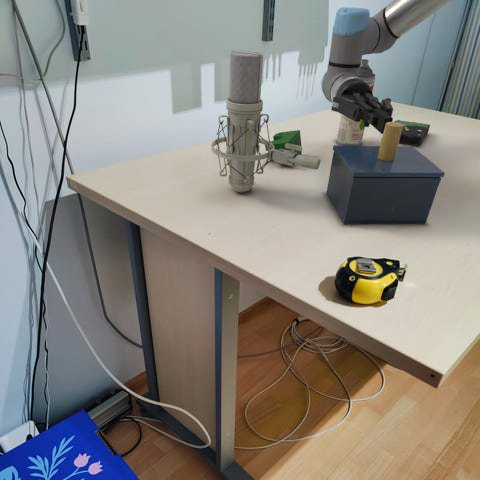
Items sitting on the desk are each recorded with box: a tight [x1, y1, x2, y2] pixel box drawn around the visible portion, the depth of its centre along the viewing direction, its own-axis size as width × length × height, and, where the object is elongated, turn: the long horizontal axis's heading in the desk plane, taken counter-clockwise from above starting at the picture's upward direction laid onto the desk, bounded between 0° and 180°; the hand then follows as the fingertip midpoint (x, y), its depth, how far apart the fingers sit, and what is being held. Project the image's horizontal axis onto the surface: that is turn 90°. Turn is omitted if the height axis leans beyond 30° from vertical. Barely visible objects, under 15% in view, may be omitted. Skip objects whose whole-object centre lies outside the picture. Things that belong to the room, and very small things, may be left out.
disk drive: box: [393, 119, 431, 147], centre depth 123 cm, size 10×3×15 cm
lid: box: [332, 121, 446, 178], centre depth 77 cm, size 16×14×7 cm
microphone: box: [210, 49, 321, 193], centre depth 80 cm, size 12×22×25 cm, turn 61°
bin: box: [325, 151, 442, 226], centre depth 82 cm, size 16×14×9 cm
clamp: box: [264, 129, 303, 167], centre depth 103 cm, size 12×6×9 cm, turn 153°
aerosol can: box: [336, 58, 376, 146], centre depth 111 cm, size 7×7×20 cm
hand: (387, 126), depth 78 cm, fingers closed
